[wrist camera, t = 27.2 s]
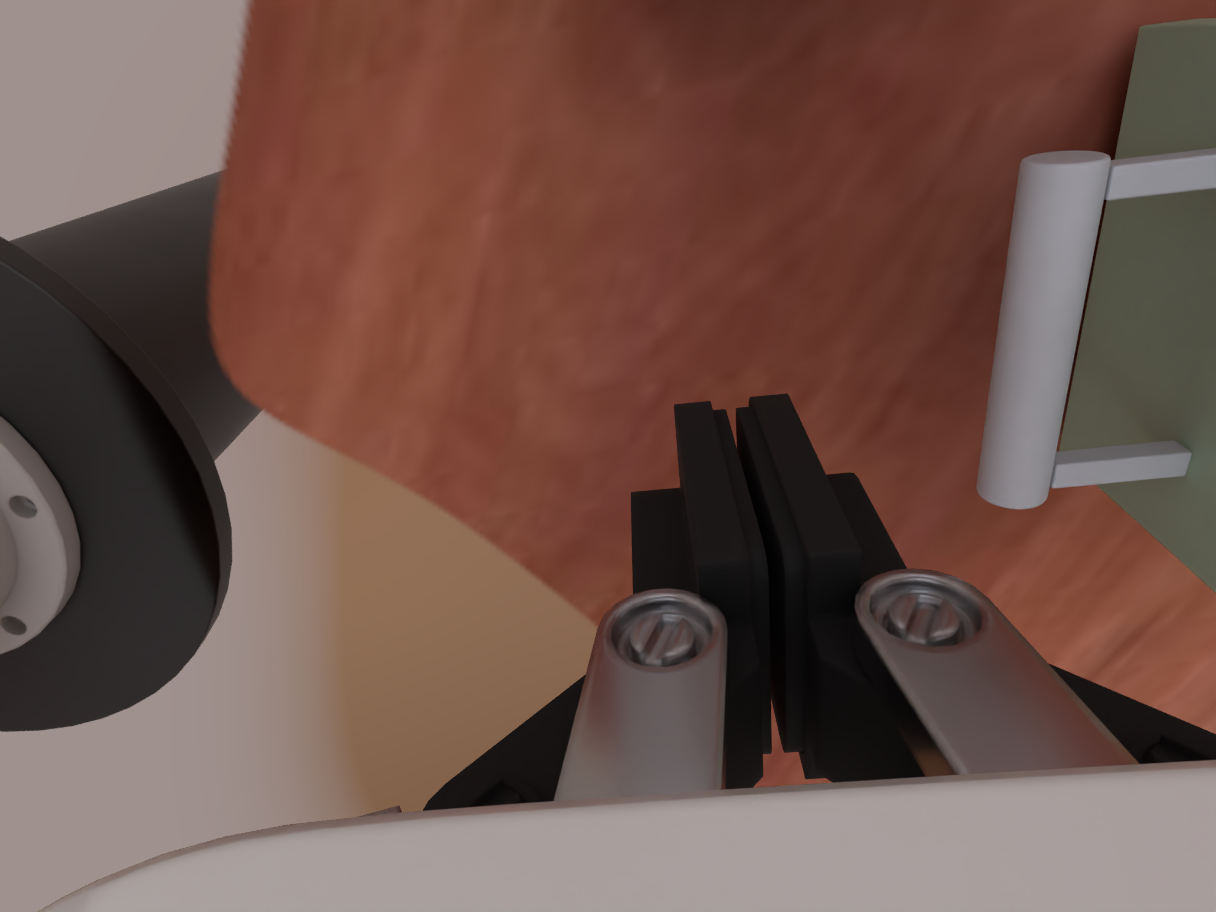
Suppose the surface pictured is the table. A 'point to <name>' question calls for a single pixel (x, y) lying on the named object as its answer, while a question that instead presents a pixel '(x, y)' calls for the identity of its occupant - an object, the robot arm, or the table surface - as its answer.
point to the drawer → (1118, 311)
